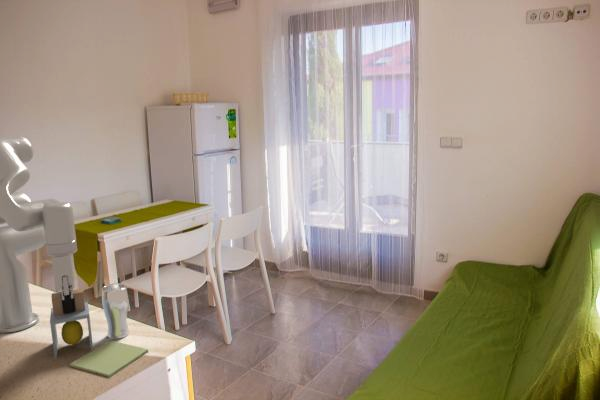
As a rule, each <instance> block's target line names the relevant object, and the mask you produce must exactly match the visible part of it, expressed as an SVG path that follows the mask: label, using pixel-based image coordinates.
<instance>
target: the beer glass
mask: <svg viewBox="0 0 600 400" xmlns="http://www.w3.org/2000/svg"><path fill="white" fill-rule="evenodd" d="M126 287H127V286H126V285H125V284H124V283H111V284H107V285H104V286H103V287H102V288H101V302H102V309H103V312H104V315H105V316H104V317H105V319H106V323H107V338H108V339H110V340H120V339H123V338H126V337H127V336H128V335H129V334H130V330H129V326H128V321H127V319H128V308H129V307H128V306H129V305H128V304H129V303H128V302H129V301H128V298H129V297H128V294H127V293H128V292H127V288H126Z"/></svg>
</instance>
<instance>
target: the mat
mask: <svg viewBox="0 0 600 400" xmlns="http://www.w3.org/2000/svg"><path fill="white" fill-rule="evenodd" d="M147 353H149V349H148V348H143V347H140V346H135V345H132V344H127V343H124V342H123V343H122V342H120V341H119V342H118V341H114V340H112V339H110V340H108V341H107V342H105V343H104V344H102V345H100V346H98V347H97V348H95V349H92V350H90V352H87V353H86V354H84V355H82V356H81V357H79V358H78V359H76V360H74V361H72V362H71V363H69V367H73V368H76V369H79V370H82V371H86V372H90V373H93V374H96V373H97V375H101V376H105V377H108V378H111V377H112V376H113V375H116V373H118V372H120V371H121V370H123V369H125V368H126V367H127V366H128V365H130V364H132V363H133V362H135V361H136V360H138V359H139V358H141V357H142V356H143V355H145V354H147Z"/></svg>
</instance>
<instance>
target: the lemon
mask: <svg viewBox="0 0 600 400" xmlns="http://www.w3.org/2000/svg"><path fill="white" fill-rule="evenodd" d="M83 336H84V330H83V326H82V324H81V322H79V320H75V321H69V322H64V323H63V325H62V328H61V337H62V340H63V342H64V343H65V344H67V345H70V346H75V345H77V344H78V343H79V342H80V341H82V339H83Z"/></svg>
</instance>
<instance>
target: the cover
mask: <svg viewBox="0 0 600 400" xmlns="http://www.w3.org/2000/svg"><path fill="white" fill-rule="evenodd" d="M72 291H73V298H74V299H75V307H76V311H75V312H71V313H66V314H64V313H63V307H62V293H61V291H60V292H59V291H58V292H53V293H51V305H52V307H51V308H50V317H49V319H50V320H49V324H50V330H51V340H52V346H53V353H54V354H53V355H54V358H58V351H59V350H58V349H59V348H58V345H59V341H58V339H59V338H58V333H57V332H58V331H57V325H58V324H65V323H66V322H69V321H75V320H76V321H79V320H85V319H87V320H86V321H87V328H88V337H89V346H90V347H89V348H90V351H93V350H94V344H93V337H92V336H93V334H92V327H91V318H90V311H89V310H90V309H89V302H88V301H85V294H84V288H78V289H73V290H72ZM69 292H70V291H69ZM70 293H71V292H70Z"/></svg>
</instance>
